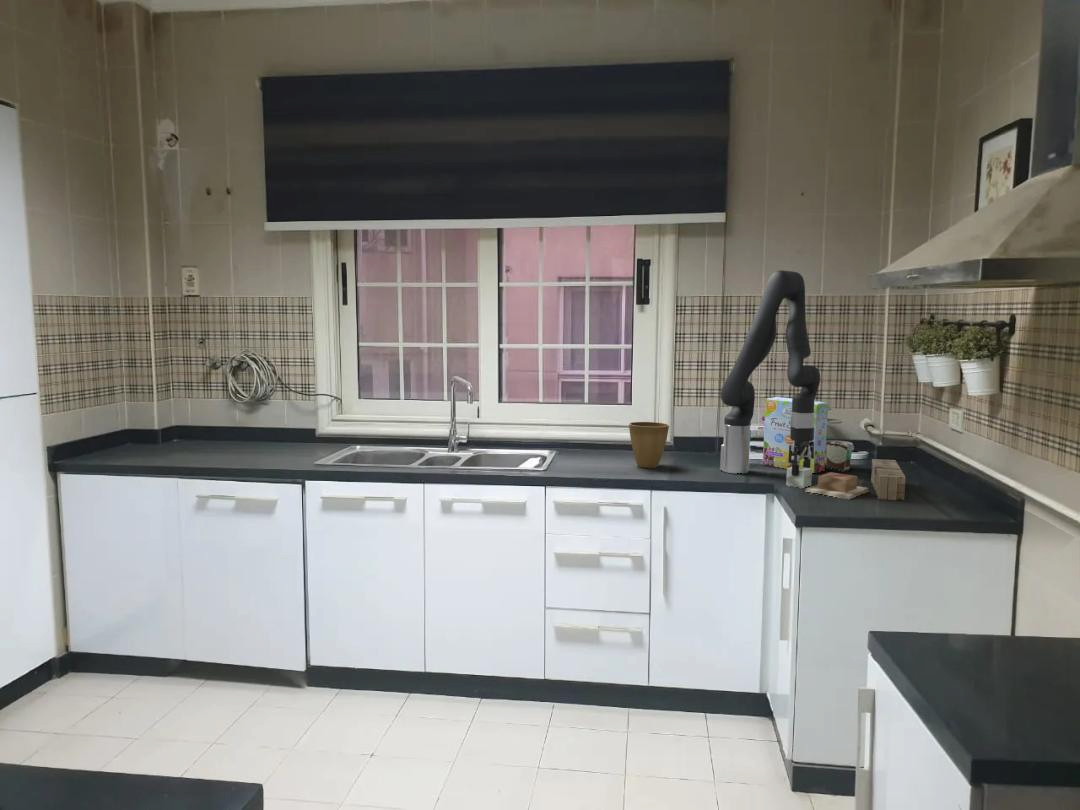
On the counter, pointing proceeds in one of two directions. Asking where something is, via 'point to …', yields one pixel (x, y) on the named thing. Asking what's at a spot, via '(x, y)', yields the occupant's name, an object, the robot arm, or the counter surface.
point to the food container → (839, 454)
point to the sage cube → (799, 477)
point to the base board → (838, 494)
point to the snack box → (779, 434)
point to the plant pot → (648, 442)
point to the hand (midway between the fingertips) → (800, 474)
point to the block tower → (888, 479)
